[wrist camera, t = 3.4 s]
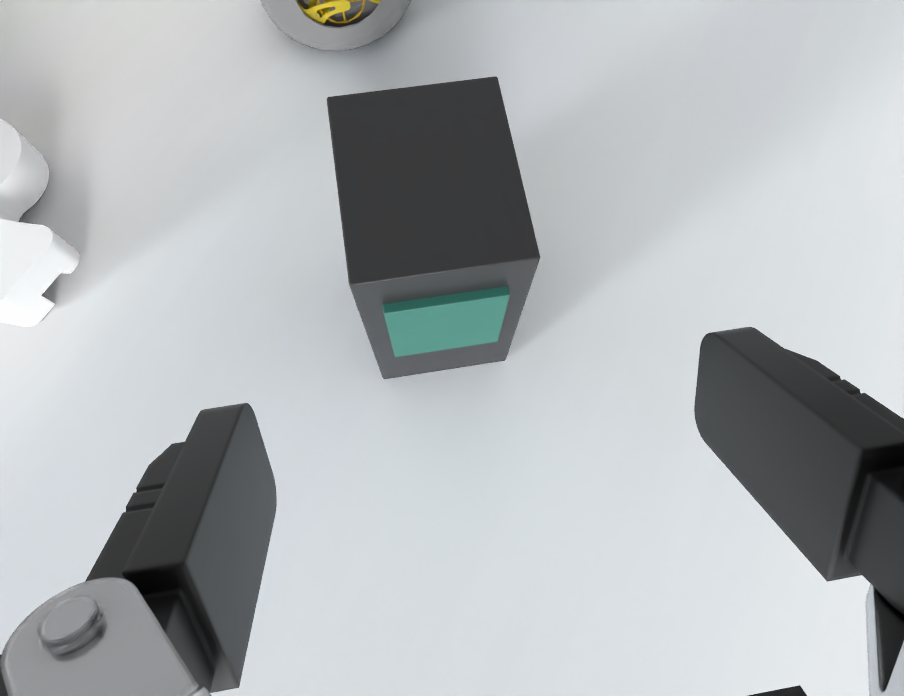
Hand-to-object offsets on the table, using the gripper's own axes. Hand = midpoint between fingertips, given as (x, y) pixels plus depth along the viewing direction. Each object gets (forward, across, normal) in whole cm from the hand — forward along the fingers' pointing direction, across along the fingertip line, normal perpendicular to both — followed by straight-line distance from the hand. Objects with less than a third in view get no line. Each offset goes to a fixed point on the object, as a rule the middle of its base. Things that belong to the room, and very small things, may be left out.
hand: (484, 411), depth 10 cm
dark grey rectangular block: (+14, 0, +4) cm, 14 cm away
